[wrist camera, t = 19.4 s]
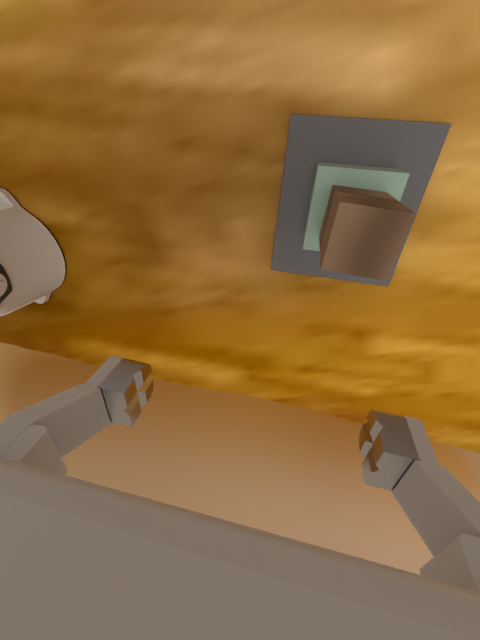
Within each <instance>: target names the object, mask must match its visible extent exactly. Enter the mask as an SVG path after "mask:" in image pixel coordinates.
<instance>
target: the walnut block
mask: <svg viewBox="0 0 480 640" xmlns="http://www.w3.org/2000/svg"><path fill="white" fill-rule="evenodd" d="M415 214H416V213H414V212H413V211H412V210H410V209H409V208H408V207H406V206H405V205H404V204H402V203H401V202H400V201H398V200H397V199H395V198H394V197H393V196H391V195H390V194H389V193H387V192H382V191H375V190H368V189H361V188H354V187H347V186H340V185H333V184H332V188H331V192H330V196H329V200H328V203H327V207H326V211H325V215H324V219H323V223H322V226H321V230H320V234H319V247H320V265H321V269H322V270H327V271H333V272H339V273H344V274H350V275H355V276H361V277H366V278H372V279H378V280H383V281H387V279H388V276H389V274H390V272H391V270H392V267H393V265H394V263H395V260H396V258H397V256H398V253H399V251H400V249H401V247H402V244H403V242H404V240H405V237H406V235H407V233H408V230H409V228H410V226H411V224H412V221H413V219H414V217H415Z"/></svg>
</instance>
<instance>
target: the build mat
mask: <svg viewBox="0 0 480 640" xmlns="http://www.w3.org/2000/svg"><path fill="white" fill-rule="evenodd" d="M450 126H451V124H448V123H431V122H415V121H398V120H382V119H365V118H348V117H332V116H315V115H299V114H291V118H290V126H289V134H288V142H287V149H286V157H285V165H284V173H283V180H282V188H281V196H280V204H279V211H278V219H277V227H276V234H275V242H274V250H273V258H272V265H271V270H276V271H283V272H290V273H297V274H304V275H311V276H318V277H325V278H333V279H340V280H347V281H354V282H361V283H368V284H375V285H382V286H388V285H389V282H390V280H391V277H392V275H393V272H394V270H395V267H396V264H397V262H398V259H399V257H400V254H401V252H402V249H403V246H404V244H405V241H406V239H407V236H408V234H409V231H410V228H411V226H412V224H411V226H410V228H409V230H408V233H407V235H406V237H405V240H404V242H403V244H402V247H401V249H400V251H399V253H398V256H397V258H396V260H395V263H394V265H393V267H392V270H391V272H390V274H389V276H388V279H387V281H383V280H378V279H372V278H366V277H361V276H355V275H350V274H344V273H339V272H333V271H327V270H322V269H321V265H320V251H313V250H305V249H303V241H304V233H305V228H306V222H307V217H308V212H309V206H310V201H311V195H312V190H313V185H314V179H315V174H316V169H317V163H318V162H325V163H336V164H348V165H360V166H372V167H384V168H396V169H399V170H402V171H404V172H407V173H410V175H409V177H408V180H407V183H406V186H405V189H404V192H403V195H402V197H401V200H400V202H401V203H402V204H404V205H405V206H406V207H408V208H409V209H410V210H412V211H413V212H414V213H417V210H418V208H419V205H420V203H421V200H422V198H423V195H424V192H425V190H426V187H427V185H428V182H429V180H430V177H431V175H432V172H433V169H434V167H435V164H436V162H437V159H438V157H439V154H440V151H441V149H442V146H443V144H444V141H445V139H446V136H447V133H448V131H449V128H450ZM415 216H416V214H415ZM414 218H415V217H414ZM413 221H414V219H413ZM413 221H412V223H413Z"/></svg>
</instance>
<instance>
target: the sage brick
mask: <svg viewBox="0 0 480 640" xmlns="http://www.w3.org/2000/svg"><path fill="white" fill-rule="evenodd" d="M409 175H410V173H407V172H404V171H402V170H399V169H396V168H384V167H372V166H360V165H348V164H336V163H325V162H318V163H317V169H316V174H315V179H314V185H313V190H312V195H311V201H310V206H309V212H308V217H307V222H306V228H305V233H304V241H303V249H305V250H313V251H320V247H319V234H320V230H321V226H322V223H323V219H324V215H325V211H326V207H327V203H328V200H329V196H330V192H331V188H332V184H333V185H340V186H347V187H354V188H361V189H368V190H375V191H382V192H387V193H389V194H390V195H391V196H393V197H394V198H395V199H397V200H398V201H400V200H401V197H402V195H403V192H404V189H405V186H406V183H407V180H408V177H409Z"/></svg>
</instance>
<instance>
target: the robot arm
mask: <svg viewBox="0 0 480 640" xmlns="http://www.w3.org/2000/svg"><path fill="white" fill-rule="evenodd" d="M64 277H65V262H64V258H63V255H62V252H61V250H60V248H59V246H58V244H57V242H56V240H55V239H54V237H53V236H52V235H51V233H50V232H49V231H48V230H47V228H46V227H45V226H44V225H43V224H42V223H41V222H40V221H39V220H37V219H36V218H35V217H34V216H32V215H31V214H30V213H28V212H27V211H26V210H24V209H23V208H22V207H21V206H20V205H19V203H18V202H17V201H16V200H15V199H14V197H13V196H12V195H11V194H10V193H9V192H8V191H7V190H5V189H3V188H0V316H4V315H7V314H9V313H11V312H13V311H15V310H18V309H20V308H22V307H24V306H26V305H28V304H30V303H32V302H36V303H39V304H42V303H45V302H47V301H48V300H49V298H50V295H51V292H52V291H53V290H55V289H57V288H58V287H59V286H60V285H61V284H62V282H63V280H64ZM151 372H152V370H151V365H150V364H147V363H143V362H138V361H134V360H130V359H126V358H120V357H116V356H112V357H110V358H108V359H107V360H106V361H105V363H104V364H103V365H102V366H101V367H100V368H99V369H98V370H97V371H96V372H95V373H94V374H93V375H92V377H90V379H89V380H88V381H87V382H86V383H85V384H84V385H81V384H80V385H77V386H75V387H73V388H70V389H68V390H66V391H64V392H61V393H59V394H57V395H54V396H52V397H50V398H48V399H45V400H43V401H41V402H39V403H36V404H34V405H32V406H30V407H27V408H25V409H23V410H21V411H18V412H16V413H14V414H11V415H9V416H8V417H7V418H5V419H4V420H3V421H2V422H1V423H0V640H480V502H479V501H478V500H477V499H476V498H475V497H474V496H473V495H472V494H471V493H470V492H469V491H468V490H467V489H466V488H465V487H464V486H463V485H462V484H461V483H460V482H459V481H458V480H457V479H456V478H455V477H454V476H453V475H452V474H451V473H450V472H449V471H448V470H447V469H446V468H445V467H444V466H440V465H439V464H438V461H437V459H436V456H435V454H434V451H433V449H432V446H431V443H430V441H429V438H428V436H427V433H426V431H425V428H424V426H423V423H422V421H421V420H420V419H417V418H412V417H407V416H402V415H397V414H392V413H387V412H382V411H377V410H371V411H369V413H368V415H367V420H368V422H367V423H365V424H363V425H362V428H361V430H360V435H359V449H360V453H361V454H362V455H363V456H364V458H365V459H364V461H363V463H362V469H363V476H364V481H365V484H368V485H372V486H375V487H379V488H383V489H387V490H390V491H392V494H393V495H394V497H395V498H396V500H397V501H398V503H399V504H400V506H401V507H402V509H403V510H404V512H405V513H406V515H407V516H408V518H409V519H410V521H411V523H412V524H413V526H414V527H415V529H416V530H417V532H418V533H419V535H420V536H421V538H422V539H423V541H424V542H425V544H426V545H427V547H428V548H429V550H430V551H431V553H432V554H433V556H434V557H433V558H432V559H431V560H430V561H429V562H427V563H426V564H425V565H424V566H423V567H422V568H421V569H420V573H421V575H419V574H415V573H411V572H408V571H404V570H400V569H397V568H393V567H390V566H386V565H383V564H379V563H376V562H372V561H368V560H365V559H362V558H358V557H355V556H351V555H347V554H344V553H340V552H337V551H333V550H330V549H326V548H322V547H319V546H315V545H311V544H308V543H305V542H301V541H298V540H294V539H290V538H287V537H283V536H280V535H276V534H273V533H269V532H266V531H262V530H258V529H255V528H251V527H248V526H244V525H240V524H237V523H233V522H229V521H226V520H223V519H219V518H215V517H212V516H208V515H205V514H201V513H198V512H194V511H191V510H187V509H183V508H179V507H176V506H173V505H169V504H166V503H162V502H158V501H155V500H151V499H148V498H144V497H140V496H137V495H133V494H129V493H126V492H122V491H119V490H115V489H112V488H108V487H105V486H101V485H98V484H94V483H91V482H87V481H83V480H80V479H76V478H73V477H69V476H66V473H67V467H66V465H65V463H64V461H63V459H62V457H63V456H65V455H66V454H68V453H69V452H71V451H72V450H73V449H75V448H76V447H78V446H79V445H81V444H82V443H84V442H85V441H86V440H88V439H89V438H91V437H92V436H94V435H95V434H97V433H98V432H100V431H101V430H103V429H104V428H105V427H107V426H108V425H110V424H111V423H116V424H121V425H125V426H130V427H132V426H133V425H134V423H135V422H136V420H137V418H138V417H139V415H140V413H141V409H140V407H141V406H143V405H145V404H147V402H148V401H149V399H150V397H151V395H152V392H153V386H154V383H153V379H152V378H151V377H150V376H149V375H150V373H151Z"/></svg>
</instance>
